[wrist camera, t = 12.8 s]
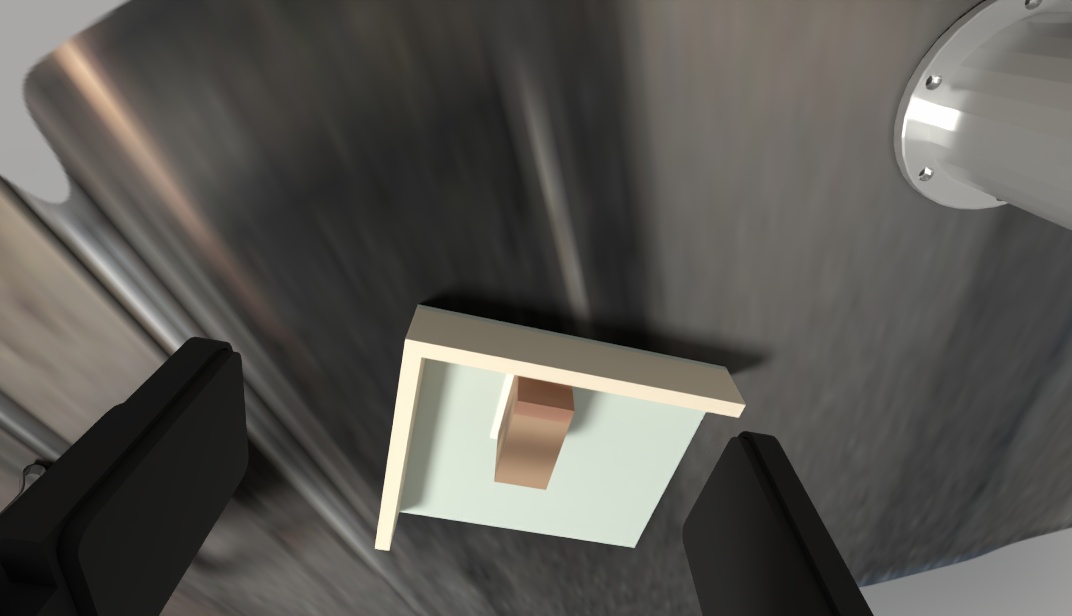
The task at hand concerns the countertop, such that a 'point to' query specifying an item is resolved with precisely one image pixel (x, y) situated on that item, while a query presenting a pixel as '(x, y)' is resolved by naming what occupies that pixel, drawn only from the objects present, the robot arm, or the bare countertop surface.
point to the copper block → (532, 431)
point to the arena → (590, 443)
